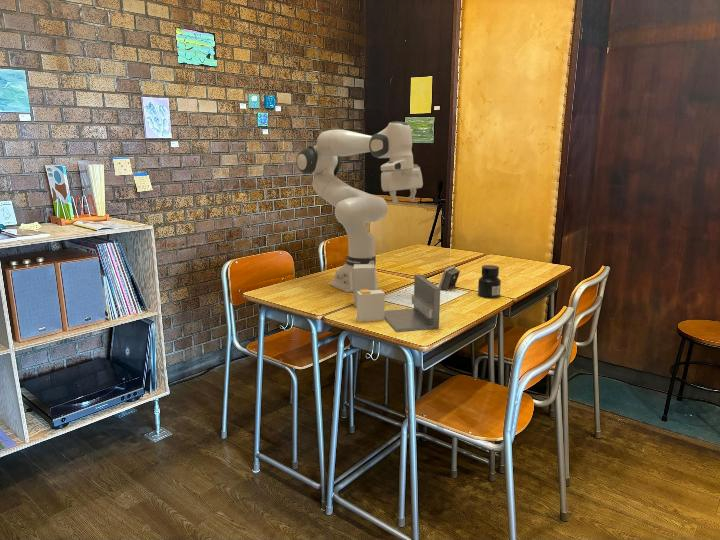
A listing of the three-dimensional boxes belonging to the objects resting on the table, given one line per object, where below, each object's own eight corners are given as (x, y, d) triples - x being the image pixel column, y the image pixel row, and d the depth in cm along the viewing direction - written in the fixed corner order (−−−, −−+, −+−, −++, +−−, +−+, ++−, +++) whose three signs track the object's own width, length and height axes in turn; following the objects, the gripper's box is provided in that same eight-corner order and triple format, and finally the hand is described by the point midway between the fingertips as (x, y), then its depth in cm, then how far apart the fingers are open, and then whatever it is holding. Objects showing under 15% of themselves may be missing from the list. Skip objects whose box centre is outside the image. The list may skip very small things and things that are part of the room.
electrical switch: (447, 285, 241) (450, 264, 238) (458, 288, 238) (461, 267, 235) (437, 289, 233) (440, 269, 231) (448, 293, 231) (451, 271, 228)
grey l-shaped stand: (396, 331, 183) (397, 291, 179) (380, 313, 202) (380, 276, 198) (438, 328, 186) (440, 288, 183) (418, 310, 205) (419, 274, 202)
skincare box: (375, 302, 215) (375, 263, 212) (375, 307, 209) (375, 267, 205) (353, 302, 216) (353, 263, 212) (353, 307, 209) (353, 267, 205)
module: (359, 322, 193) (359, 293, 190) (356, 318, 197) (356, 289, 194) (384, 320, 195) (384, 291, 192) (380, 316, 199) (381, 288, 196)
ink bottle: (498, 299, 219) (500, 270, 216) (476, 297, 222) (477, 268, 219) (501, 293, 228) (503, 265, 225) (479, 291, 231) (481, 263, 228)
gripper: (413, 164, 217) (415, 199, 220) (377, 166, 203) (379, 204, 206) (425, 163, 213) (427, 199, 215) (389, 165, 199) (392, 203, 201)
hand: (403, 201), depth 210 cm, fingers open, 8 cm apart
